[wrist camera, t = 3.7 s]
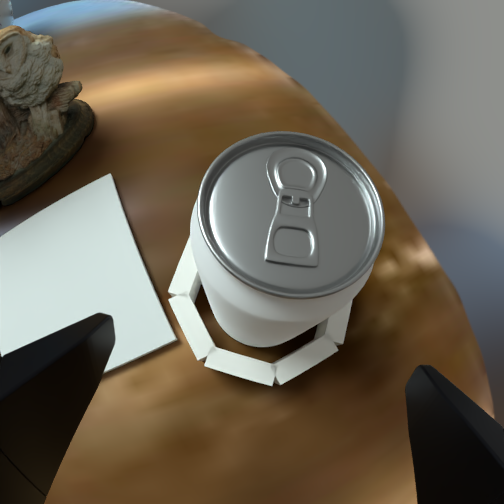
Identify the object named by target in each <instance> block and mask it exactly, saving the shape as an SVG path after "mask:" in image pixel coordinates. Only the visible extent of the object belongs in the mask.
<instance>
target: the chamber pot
mask: <svg viewBox="0 0 504 504" xmlns="http://www.w3.org/2000/svg"><path fill="white" fill-rule="evenodd" d="M11 25H13V14H12V5H11V2H10V0H0V30H1V29H4V28H6V27H8V26H11Z"/></svg>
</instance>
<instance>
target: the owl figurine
mask: <svg viewBox="0 0 504 504" xmlns="http://www.w3.org/2000/svg"><path fill="white" fill-rule="evenodd" d="M63 69H64V67H63V62H62V60H61V59H60V55H59V53H58V50H57V46H56V45H53V38H52V37H51V36H48V35H46V36H43V35H35V34H33V33H31V32H30V31H25V30H24V29H23V28H21V27H19V26H13V25H11V26H8V27H6V28H4V29H1V30H0V200H1V203H2V205H3V206H6V205H10V204H13V203H15V202H16V201H18V200H20V199H21V198H23V197H24V196H26V195H28V194H29V193H31V192H32V191H34V190H35V189H37V188H38V187H40V186H41V185H42V184H43V183H45V182H46V181H47V180H48V179H49V178H51V177H52V176H53V175H54V174H55V173H57V172H58V171H59V170H60V169H61V168H62V167H63V166H64V165H65V164H66V163H67V162H68V161H69V160H70V159H71V158H72V157H73V156H74V155H75V153H76V152H77V151H78V150H79V149H80V148H81V146H82V143H83V142H84V137H85V136H86V135H87V136H88V135H89V134H90V132H91V130H92V128H93V124H94V120H93V119H94V118H93V116H94V115H93V112H92V109H91V107H90V106H89V105H88V104H87V103H86V102H83V101H82V100H77V99H74V98H76V97H77V96H78V94H79V93H80V92H81V90H82V84H81V83H80V81H72V82H65V83H61V84H59V82H60V79H61V77H62V72H63Z"/></svg>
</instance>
